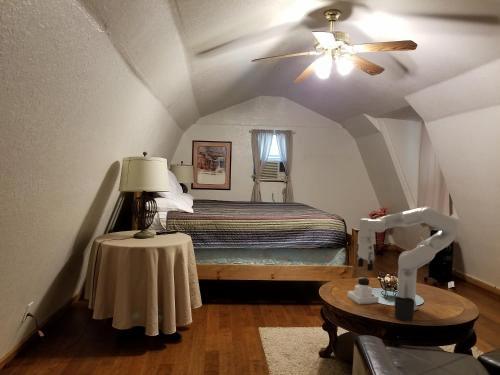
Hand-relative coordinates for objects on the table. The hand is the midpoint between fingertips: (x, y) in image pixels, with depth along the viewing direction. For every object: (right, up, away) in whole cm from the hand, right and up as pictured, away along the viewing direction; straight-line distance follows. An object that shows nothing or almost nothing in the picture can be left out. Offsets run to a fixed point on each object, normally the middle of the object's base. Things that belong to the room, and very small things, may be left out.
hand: (365, 268), depth 225 cm
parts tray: (-1, -19, +1) cm, 19 cm away
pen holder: (+13, -21, -25) cm, 35 cm away
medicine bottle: (-1, -18, +1) cm, 18 cm away
